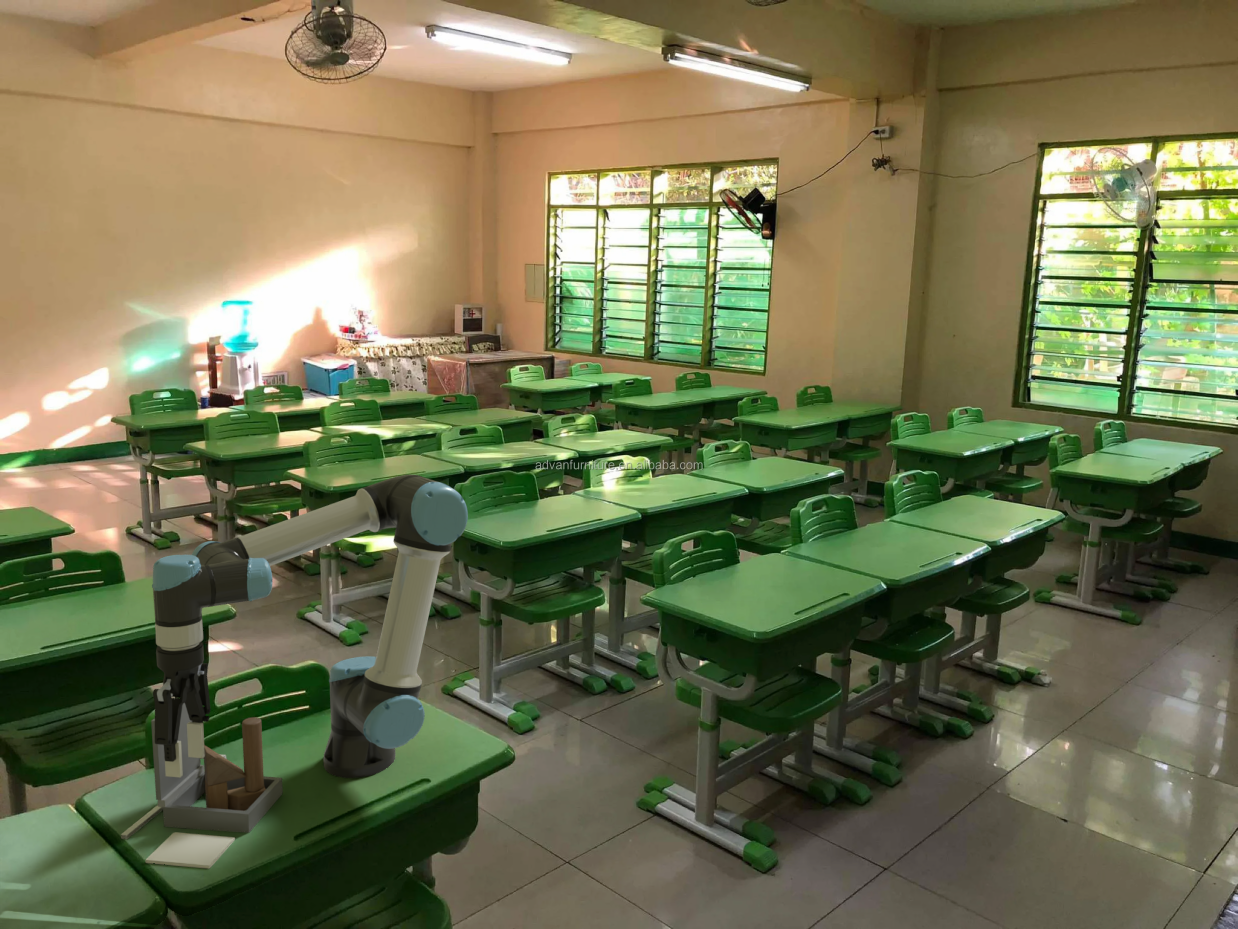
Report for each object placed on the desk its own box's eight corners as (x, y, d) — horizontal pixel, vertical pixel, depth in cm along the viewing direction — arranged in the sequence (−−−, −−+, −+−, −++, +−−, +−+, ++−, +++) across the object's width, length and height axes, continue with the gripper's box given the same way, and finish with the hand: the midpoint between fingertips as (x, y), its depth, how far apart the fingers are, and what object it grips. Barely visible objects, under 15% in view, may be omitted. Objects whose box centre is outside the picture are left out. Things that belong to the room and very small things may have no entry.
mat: (235, 840, 177) (234, 837, 177) (209, 868, 168) (209, 865, 168) (174, 835, 178) (173, 832, 178) (145, 862, 169) (145, 859, 169)
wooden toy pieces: (206, 812, 186) (201, 726, 183) (263, 798, 192) (260, 714, 189) (209, 820, 183) (204, 733, 180) (267, 806, 189) (264, 722, 186)
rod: (162, 807, 188) (161, 801, 188) (167, 807, 188) (167, 802, 188) (121, 840, 177) (120, 834, 176) (127, 841, 176) (126, 835, 176)
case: (284, 794, 194) (280, 695, 190) (249, 833, 179) (244, 727, 176) (199, 787, 195) (194, 689, 192) (157, 825, 181) (151, 720, 177)
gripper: (189, 624, 176) (195, 740, 180) (125, 662, 157) (132, 791, 161) (228, 626, 175) (232, 743, 179) (168, 665, 156) (174, 795, 160)
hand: (185, 765), depth 170 cm, fingers open, 7 cm apart
